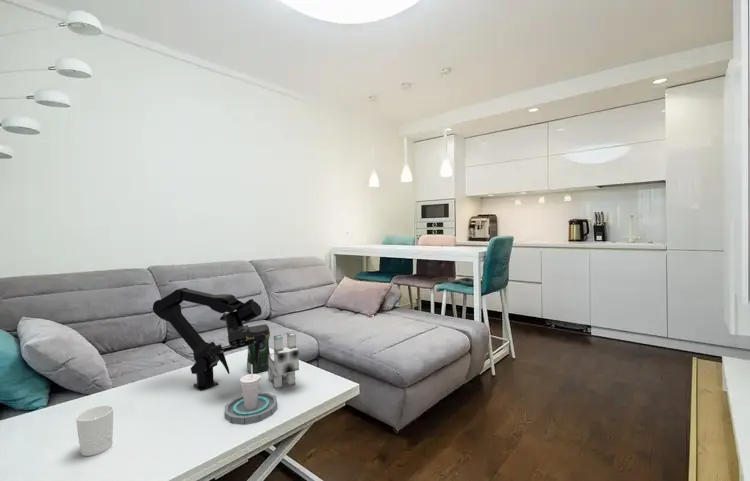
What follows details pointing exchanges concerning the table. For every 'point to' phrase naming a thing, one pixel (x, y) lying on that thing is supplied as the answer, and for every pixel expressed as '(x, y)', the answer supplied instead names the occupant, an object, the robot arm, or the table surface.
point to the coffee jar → (263, 351)
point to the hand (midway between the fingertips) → (243, 369)
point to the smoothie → (250, 389)
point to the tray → (240, 415)
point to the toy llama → (283, 361)
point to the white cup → (95, 430)
